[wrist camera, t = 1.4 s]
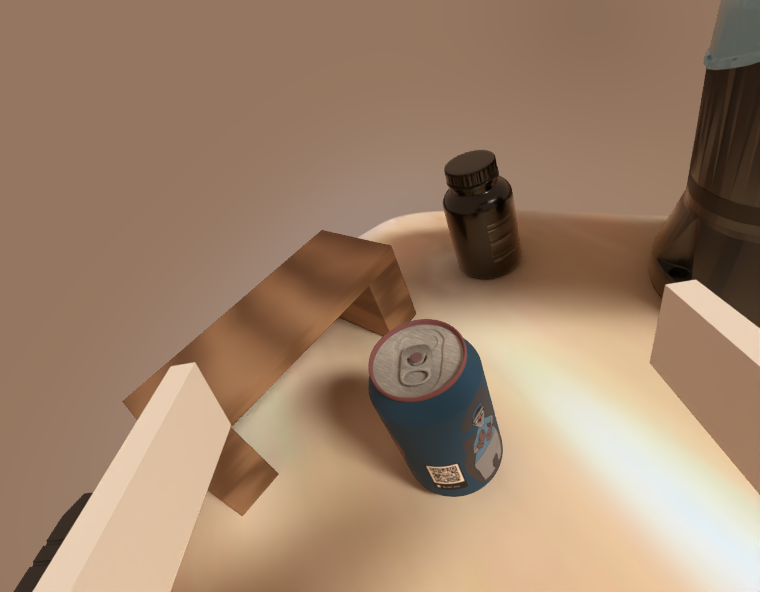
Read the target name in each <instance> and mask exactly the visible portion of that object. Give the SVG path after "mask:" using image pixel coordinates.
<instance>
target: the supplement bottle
mask: <svg viewBox="0 0 760 592" xmlns="http://www.w3.org/2000/svg"><path fill="white" fill-rule="evenodd" d="M445 176H446V179H447V181H446V182H447V186H448V188H449V189H448V191H447V192H446V194H445V196H444V199H443V208H444V213H445V216H446V220H447V224H448V227H449V231H450V235H451V238H452V242H453V246H454V249H455V253H456V257H457V260H458V263H459V266H460V268H461V270H462V271H463V272H464V273H465V274H467V275H469V276H471V277H474V278H478V279H490V278H495V277H499V276H502V275H504V274H506V273H508V272H509V271H511V270H512V269H513V268H514V267H515V266H516V265H517V264H518V262H519V260H520V257H521V247H520V239H519V233H518V226H517V219H516V213H515V206H514V200H513V193H512V188H511V185H510V184H509V182H508V181H507V180H506V179H504V178H503V177H501V176H499V171H498V167H497V164H496V158H495V155H494V154H493V153H492V152H490V151H486V150H475V151H470V152H466V153H464V154H461V155H459V156H457V157H455V158H453V159H452V160H450V161H449V162H448V163H447V164H446V166H445Z"/></svg>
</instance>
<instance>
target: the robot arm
mask: <svg viewBox="0 0 760 592" xmlns="http://www.w3.org/2000/svg"><path fill="white" fill-rule="evenodd" d="M704 65H705V66H706V74H705V81H704V87H703V93H702V99H701V105H700V111H699V118H698V123H697V129H696V136H695V141H694V147H693V152H692V158H691V163H690V171H689V176H688V182H687V187H686V190H685V191H684V193H683V195H682V196H681V198H680V200H679V201H678V203H677V204H676V206H675V208H674V209H673V211H672V213H671V214H670V216H669V217H668V219H667V221H666V222H665V224H664V225H663V227H662V229H661V230H660V232H659V233H658V235H657V237H656V239H655V241H654V244H653V247H652V253H651V261H650V277H651V281H652V283H653V285H654V287H655V289H656V291H657V292H658V293H659V295H660V296H661V297H662V303H661V308H660V314H659V319H658V324H657V329H656V334H655V339H654V344H653V349H652V354H651V359H650V364H651V365H652V366H653V367H654V369H655V370H656V371H657V372H658V373H659V375H660V376H661V377H662V378H663V379H664V381H665V382H666V383H667V384H668V385H669V387H670V388H671V389H672V390H673V391H674V393H675V394H676V395H677V396H678V397H679V399H680V400H681V401H682V402H683V403H684V405H685V406H686V407H687V408H688V409H689V410H690V412H691V413H692V414H693V415H694V416H695V418H696V419H697V420H698V421H699V422H700V424H701V425H702V426H703V427H704V428H705V430H706V431H707V432H708V433H709V434H710V436H711V437H712V438H713V439H714V440H715V442H716V443H717V444H718V445H719V446H720V448H721V449H722V450H723V451H724V452H725V454H726V455H727V456H728V457H729V458H730V460H731V461H732V462H733V463H734V464H735V466H736V467H737V468H738V469H739V470H740V472H741V473H742V474H743V475H744V476H745V478H746V479H747V480H748V481H749V482H750V484H751V485H752V486H753V487H754V488H755V490H756V491H757V492H758V493H759V494H760V0H721V1H720V6H719V10H718V14H717V18H716V23H715V27H714V31H713V36H712V40H711V44H710V47H709V48H708V49H707V51H706V54H705V57H704ZM230 427H231V424H230V422H229V420H228V418H227V417H226V415H225V413H224V411H223V410H222V408H221V406H220V404H219V403H218V401H217V399H216V398H215V396H214V394H213V392H212V391H211V389H210V387H209V385H208V384H207V382H206V380H205V378H204V377H203V375H202V373H201V372H200V370H199V368H198V366H197V365H196V363H195V362H194V363H188V364H182V365H175V366H171V367H170V368H169V370H168V372H167V373H166V375H165V376H164V378H163V380H162V381H161V383H160V385H159V386H158V388H157V389H156V391H155V393H154V394H153V396H152V398H151V399H150V401H149V403H148V404H147V406H146V407H145V409H144V411H143V412H142V414H141V416H140V417H139V419H138V420H137V422H136V424H135V425H134V427H133V429H132V430H131V432H130V434H129V435H128V437H127V439H126V440H125V442H124V443H123V445H122V447H121V448H120V450H119V451H118V453H117V455H116V456H115V458H114V460H113V461H112V463H111V465H110V466H109V468H108V470H107V471H106V473H105V474H104V476H103V478H102V479H101V481H100V482H99V484H98V486H97V488H96V489H95V491H94V492H93V493H86V494H84V495H83V496H82V497H81V498H80V499H79V500H78V501H77V502H76V503H75V504H74V505H73V506H72V507H71V508H70V509H69V510H68V511H67V512H66V513H65V514H64V515H63V516H62V518H61V519H60V521H59V522H58V524H57V526H56V527H55V529H54V531H53V532H52V533H51V535H50V536H49V538H48V539H47V544H46V546H43V547H42V549H41V550H40V552H39V553H38V555H37V557H36V558H35V560H34V561H33V566H32V567H30V568H29V569H28V571H27V572H26V573H25V575H24V577H23V578H22V580H21V581H20V583H19V584H18V586H17V588H16V589H15V591H14V592H170V591H171V588H172V586H173V583H174V580H175V577H176V575H177V572H178V569H179V566H180V564H181V561H182V558H183V556H184V553H185V550H186V547H187V545H188V542H189V539H190V536H191V534H192V531H193V528H194V525H195V523H196V520H197V517H198V515H199V512H200V509H201V506H202V504H203V501H204V498H205V495H206V493H207V490H208V487H209V485H210V482H211V479H212V476H213V474H214V471H215V468H216V465H217V463H218V460H219V457H220V454H221V452H222V449H223V446H224V444H225V441H226V438H227V435H228V433H229V430H230Z"/></svg>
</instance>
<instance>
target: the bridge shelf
mask: <svg viewBox="0 0 760 592" xmlns="http://www.w3.org/2000/svg"><path fill="white" fill-rule="evenodd" d="M415 315H416V311H415V309H414V306H413V303H412V301H411V298H410V295H409V293H408V290H407V287H406V285H405V282H404V279H403V277H402V274H401V271H400V268H399V266H398V263H397V260H396V258H395V255H394V252H393V250H392V247H391V246H390V245H386V244H381V243H377V242H372V241H368V240H363V239H359V238H354V237H350V236H346V235H341V234H337V233H332V232H327V231H323V230H321V231H320V232H319V233H318V234H317V235H316V236H314V237H313V238H312V239H311V240H310V241H309V242H307V243H306V244H305V245H304V246H303V247H302V248H301V249H299V250H298V251H297V252H296V253H295V254H293V255H292V256H291V257H290V258H289V259H288V260H287V261H285V262H284V263H283V264H282V265H281V266H280V267H278V268H277V269H276V270H275V271H274V272H273V273H271V274H270V275H269V276H268V277H267V278H266V279H264V280H263V281H262V282H261V283H260V284H259V285H257V286H256V287H255V288H254V289H253V290H252V291H250V292H249V293H248V294H247V295H246V296H245V297H243V298H242V299H241V300H240V301H239V302H238V303H236V304H235V306H233V307H232V308H231V309H229V310H228V311H227V312H226V313H225V314H224V315H223V316H221V317H220V318H219V319H218V320H217V321H216V322H214V323H213V324H212V325H211V326H210V327H209V328H207V329H206V330H205V331H204V332H203V333H202V334H200V335H199V336H198V337H197V338H196V339H195V340H193V342H191V343H190V344H189V345H188V346H186V347H185V348H184V349H183V350H182V351H181V352H179V353H178V354H177V355H176V356H175V357H174V358H172V359H171V360H170V361H169V362H168V363H167V364H166V365H164V366H163V367H162V368H161V369H160V370H159V371H157V372H156V373H155V374H154V375H153V376H152V377H150V378H149V379H148V380H147V381H146V382H145V383H143V384H142V385H141V386H140V387H139V388H138V389H136V390H135V391H134V392H133V393H132V394H131V395H129V396H128V397H127V398H126V399H125V400H124V401H123V403H124V404H125V405H126V407H127V408H128V409H129V410H130V412H131V413H132V414H133V415H134V417H135V418H136V419H137V420H138V419H139V417H140V416H141V414H142V412H143V411H144V409H145V407H146V406H147V404H148V403H149V401H150V399H151V398H152V396H153V394H154V393H155V391H156V389H157V388H158V386H159V385H160V383H161V381H162V380H163V378H164V376H165V375H166V373H167V372H168V370H169V368H170V367H171V366H175V365H182V364H188V363H194V362H195V363H196V365H197V366H198V368H199V370H200V372H201V373H202V375H203V377H204V378H205V380H206V382H207V384H208V385H209V387H210V389H211V391H212V392H213V394H214V396H215V398H216V399H217V401H218V403H219V404H220V406H221V408H222V410H223V411H224V413H225V415H226V417H227V418H228V420H229V422H230V424H231V427H232V426H233V425H234V423H235V422H236V421H237V420H238V419H239V418H240V417H241V416H242V415H243V414H244V413H245V412H246V411H247V410H248V409H249V408H250V407H251V406H252V405H253V404H254V403H255V402H256V401H257V400H258V399H259V398H260V397H261V396H262V395H263V394H264V393H265V392H266V391H267V390H268V389H269V388H270V387H271V386H272V385H273V384H274V383H275V382H276V380H277V379H278V378H279V377H280V376H281V375H282V374H283V373H284V372H285V371H286V370H287V369H288V368H289V367H290V366H291V365H292V364H293V363H294V362H295V361H296V360H297V359H298V358H299V357H300V356H301V355H302V354H303V353H304V352H305V351H306V350H307V349H308V348H309V347H310V346H311V345H312V344H313V343H314V342H315V341H316V340H317V339H318V338H319V336H320V335H321V334H322V333H323V332H324V331H325V330H326V329H327V328H328V327H329V326H330V325H331V324H332V323H333V322H334V321H335V320H336V319H337V318H338V317H339V318H342V319H344V320H346V321H349V322H351V323H354V324H356V325H358V326H361V327H363V328H366V329H368V330H370V331H373V332H375V333H377V334H380V335H382V336H384V335H385V334H387V333H388V332H389V331H391V330H392V329H394V328H396V327H397V326H399V325H402V324H404V323H407V322H410V320H411V319H412V318H413V317H414V316H415ZM231 427H230V430H229V433H228V435H227V438H226V441H225V444H224V446H223V449H222V452H221V454H220V457H219V460H218V463H217V465H216V468H215V471H214V474H213V476H212V479H211V482H210V485H209V487H208V491H209V492H211V493H212V494H213V495H215V496H216V497H217V498H219V499H220V500H221V501H223V502H224V503H225V504H227V505H228V506H229V507H231V508H232V509H233V510H235V511H236V512H237V513H239V514H240V515H241V516H243V515H244V514H245V513H246V511H247V510H248V509H249V508H250V507H251V506H252V504H253V503H254V502H255V501H256V500H257V499H258V497H259V496H260V495H261V494H262V493H263V492H264V490H265V489H266V488H267V487H268V486H269V485H270V483H271V482H272V481H273V480H274V479H275V478H276V477H277V475H278V473H277V472H276V471H275V470H274V469H273V468H272V467H271V466H270V465H269V464H268V463H267V462H266V461H265V460H264V459H263V458H262V457H261V456H260V455H259V454H258V453H257V452H256V451H255V450H254V449H253V448H252V447H251V446H250V445H249V444H247V443H246V442H245V441H244V440H243V439H242V438H241V437H240V436H239V435H238V434H237V433H236V432H235V431H234V430H233V429H232V428H231Z"/></svg>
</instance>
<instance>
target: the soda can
mask: <svg viewBox="0 0 760 592" xmlns="http://www.w3.org/2000/svg"><path fill="white" fill-rule="evenodd" d="M369 375H370V376H369V395H370V399H371V401H372V403H373V405H374V407H375V409H376V410H377V412H378V414H379V416H380V417H381V419H382V421H383V423H384V424H385V426H386V428H387V430H388V431H389V433H390V435H391V436H392V438H393V440H394V442H395V443H396V445H397V447H398V449H399V450H400V452H401V454H402V456H403V457H404V459H405V461H406V463H407V464H408V466H409V468H410V470H411V471H412V473H413V475H414V476H415V478H416V479H417V480H418V481H419V482H420V483H421V484H422V485H423V486H424V487H425V488H427V489H428V490H430V491H432V492H434V493H437V494H439V495H443V496H450V497H457V496H464V495H468V494H471V493H474V492H476V491H478V490H479V489H481V488H483V487H484V486H485V485H486V484H487V483H489V481H490V480H491V479H492V478H493V477H494V475H495V474H496V472H497V470H498V468H499V466H500V463H501V459H502V452H503V447H502V440H501V436H500V432H499V428H498V424H497V421H496V417H495V413H494V409H493V405H492V401H491V398H490V394H489V390H488V386H487V382H486V379H485V375H484V371H483V367H482V363H481V360H480V357H479V355H478V353H477V351H476V350H475V348H474V347H473V346H472V345H471V344H470V343H469V342H468V341H467V340H465V339H464V338H463V337H462V336H461V334H460V333H459V332H458V331H457V330H456V329H455V328H454V327H452V326H451V325H449V324H447V323H445V322H442V321H438V320H432V319H422V320H415V321H410V322H407V323H404V324H402V325H399V326H397V327H396V328H394V329H392V330H391V331H389V332H388V333H387V334H385V335H384V336H383V337H382V338H381V339H380V340H379V341H378V343H377V344H376V345H375V347H374V348H373V350H372V352H371V355H370V359H369Z"/></svg>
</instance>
